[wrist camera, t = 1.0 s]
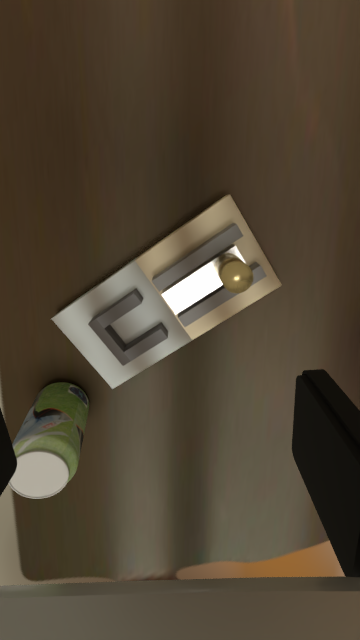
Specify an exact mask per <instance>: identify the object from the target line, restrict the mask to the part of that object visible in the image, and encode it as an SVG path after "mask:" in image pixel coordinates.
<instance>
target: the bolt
mask: <svg viewBox="0 0 360 640" xmlns="http://www.w3.org/2000/svg"><path fill="white" fill-rule="evenodd" d="M252 282H253V272H252V270H251V268H250V267H249V266H248V265H247V264H246V262H245V261H244V259H243V257H242V256H241V254H240V252H239V251H238V249H237V247H236V246H235V245H234V244H231V245H229V246H228V247H226V248H225V249H223V250H222V251H220V252H219V253H217V254H216V255H214V256H213V257H211V258H210V259H208V260H207V261H205V262H204V263H202V264H201V265H199V266H198V267H196V268H195V269H193V270H192V271H190V272H189V273H187V274H186V275H184V276H183V277H181V278H180V279H178V280H177V281H175V282H174V283H172V284H170V285H169V286H167V287H166V288H164V289H163V290H162V294H161V295H162V296H163V297H164V299H165V300H166V302H167V303H168V304H169V306H170V307H171V309H172V310H173V311H174V313H175V314H178V313H179V312H181V311H182V310H184V309H185V308H187V307H189V306H190V305H192V304H193V303H195V302H196V301H198V300H200V299H201V298H203V297H204V296H206V295H207V294H209V293H211V292H212V291H214V290H215V289H217V288H218V287H220V286H221V285H223V286H224V287H225V288H226V290H228V291H229V292H231V293H242V292H244V291H246V290H247V289H249V287H250V286H251V285H252Z"/></svg>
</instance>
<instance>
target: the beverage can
mask: <svg viewBox="0 0 360 640" xmlns="http://www.w3.org/2000/svg"><path fill="white" fill-rule="evenodd" d="M88 410H89V400H88V397H87V395H86V394H85V392H84V391H83V390H82V389H80V388H79V387H78V386H76V385H73V384H71V383H65V382H59V383H53V384H50V385H48V386H46V387H45V388H43V389H42V390H41V391H40V392H39V393H38V395H37V397H36V399H35V401H34V403H33V405H32V407H31V408H30V410H29V412H28V414H27V416H26V418H25V420H24V422H23V424H22V426H21V428H20V430H19V432H18V434H17V436H16V438H15V440H14V442H13V444H12V446H13V449H14V452H15V455H16V458H17V468H16V471H15V473H14V475H13V477H12V478H11V480H10V481H9V485H10V487H11V488H12V489H13V490H14V491H15V492H17V493H18V494H20V495H22V496H24V497H28V498H34V499H40V498H47V497H50V496H52V495H55V494H56V493H58V492H59V491H61V490H62V489H63V488H64V486H65V485H66V484H67V483H68V482H69V481H70V480H71V478H72V477H73V476H74V474H75V472H76V470H77V466H78V462H79V457H80V452H81V446H82V441H83V436H84V431H85V426H86V421H87V416H88Z"/></svg>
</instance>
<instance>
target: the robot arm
mask: <svg viewBox="0 0 360 640" xmlns="http://www.w3.org/2000/svg"><path fill="white" fill-rule="evenodd" d="M292 452H293V457H294V460H295V462H296V464H297V467H298V469H299V471H300V474H301V476H302V478H303V480H304V483H305V485H306V487H307V490H308V492H309V494H310V497H311V499H312V501H313V503H314V506H315V508H316V510H317V513H318V515H319V517H320V520H321V522H322V524H323V526H324V529H325V531H326V533H327V536H328V538H329V540H330V542H331V545H332V547H333V549H334V552H335V554H336V556H337V558H338V561H339V563H340V566H341V568H342V570H343V572H344V574H345V576H346V577H267V578H266V577H263V578H262V577H261V578H225V579H193V580H156V581H124V582H96V583H66V584H41V585H40V584H39V585H11V586H0V640H360V411H359V409H358V408H357V407H356V406H355V405H354V404H353V402H352V401H351V400H350V399H349V398H348V397H347V395H346V394H345V393H344V392H343V391H342V390H341V388H340V387H339V386H338V385H337V384H336V383H335V381H334V380H333V379H332V378H331V377H330V376H329V374H328V373H327V372H326V371H325V370H323V369H321V370H304V371H303V373H302V375H300V376H297V378H296V390H295V406H294V422H293V438H292ZM16 468H17V458H16V455H15V452H14V449H13V446H12V443H11V440H10V437H9V433H8V430H7V427H6V424H5V421H4V418H3V415H2V412H1V408H0V495H1V494H2V492H3V491H4V489H5V488H6V486H7V485H8V483H9V481H10V480H11V478H12V477H13V475H14V473H15V471H16Z"/></svg>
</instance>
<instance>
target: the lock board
mask: <svg viewBox="0 0 360 640" xmlns="http://www.w3.org/2000/svg"><path fill="white" fill-rule="evenodd" d="M231 244H234V245H235V246H236V247H237V249H238V251H239V252H240V254H241V256H242V257H243V259H244V261H245V262H246V264H247V265H248V266H249V267H250V268H251V270H252V272H253V282H252V285H251V286H250V287H249V289H247V290H246V291H244V292H242V293H231V292H229V291H228V290H226V288H225V287H224V286H223V285H221V286H220V287H218V288H217V289H215V290H214V291H212V292H211V293H209V294H207V295H206V296H204V297H203V298H201V299H200V300H198V301H196V302H195V303H193V304H192V305H190V306H189V307H187V308H185V309H184V310H182V311H181V312H179V313H178V314H175V313H174V311H173V310H172V309H171V307H170V306H169V304H168V303H167V302H166V300H165V299H164V297H163V296H162V295H161V294H162V290H163V289H164V288H166V287H167V286H169V285H170V284H172V283H174V282H175V281H177V280H178V279H180V278H181V277H183V276H184V275H186V274H187V273H189V272H190V271H192V270H193V269H195V268H196V267H198V266H199V265H201V264H202V263H204V262H205V261H207V260H208V259H210V258H211V257H213V256H214V255H216V254H217V253H219V252H220V251H222V250H223V249H225V248H226V247H228V246H229V245H231ZM280 286H281V283H280V281H279V280H278V278H277V276H276V274H275V273H274V271H273V269H272V267H271V266H270V264H269V262H268V260H267V258H266V257H265V255H264V253H263V251H262V250H261V248H260V246H259V244H258V243H257V241H256V239H255V237H254V236H253V234H252V232H251V230H250V229H249V227H248V225H247V223H246V222H245V220H244V218H243V216H242V215H241V213H240V211H239V209H238V208H237V206H236V204H235V202H234V201H233V199H232V197H231V195H230V194H228V195H225V196H224V197H223V198H221V199H220V200H218V201H217V202H215V203H214V204H213V205H211V206H210V207H208V208H207V209H205V210H204V211H202V212H201V213H200V214H198V215H197V216H195V217H194V218H192V219H191V220H190V221H188V222H187V223H185V224H184V225H182V226H181V227H180V228H178V229H177V230H175V231H174V232H172V233H171V234H170V235H168V236H167V237H165V238H164V239H162V240H161V241H160V242H158V243H157V244H155V245H154V246H152V247H151V248H150V249H148V250H147V251H145V252H144V253H142V254H141V255H139V256H138V257H137V258H135V259H134V260H132V261H131V262H129V263H128V264H127V265H125V266H124V267H122V268H121V269H119V270H118V271H117V272H115V273H114V274H112V275H111V276H109V277H108V278H107V279H105V280H104V281H102V282H101V283H99V284H98V285H97V286H95V287H94V288H92V289H91V290H89V291H88V292H87V293H85V294H84V295H82V296H81V297H79V298H78V299H77V300H75V301H74V302H72V303H71V304H69V305H68V306H66V307H65V308H64V309H62V310H61V311H59V312H58V313H57V314H56V315H55V316H54V317H53V318H52V320H53V321H54V322H55V324H56V325H57V326H58V327H59V328H60V329H61V330H62V332H63V333H64V334H65V335H66V336H67V337H68V338H69V340H70V341H71V342H72V343H73V344H74V345H75V346H76V348H77V349H78V350H79V351H80V352H81V353H82V354H83V356H84V357H85V358H86V359H87V360H88V361H89V362H90V364H91V365H92V366H93V367H94V368H95V369H96V370H97V372H98V373H99V374H100V375H101V376H102V377H103V378H104V380H105V381H106V382H107V383H108V384H109V385H110V386H111V388H112V389H113V388H115V387H117V386H118V385H120V384H122V383H123V382H125V381H126V380H128V379H130V378H131V377H133V376H135V375H136V374H138V373H140V372H141V371H143V370H144V369H146V368H148V367H149V366H151V365H153V364H154V363H156V362H157V361H159V360H161V359H162V358H164V357H166V356H167V355H169V354H170V353H172V352H174V351H175V350H177V349H179V348H180V347H182V346H184V345H185V344H187V343H188V342H190V341H192V340H193V339H195V338H197V337H198V336H200V335H201V334H203V333H205V332H206V331H208V330H210V329H211V328H213V327H215V326H216V325H218V324H219V323H221V322H223V321H224V320H226V319H228V318H229V317H231V316H232V315H234V314H236V313H237V312H239V311H241V310H242V309H244V308H245V307H247V306H249V305H250V304H252V303H254V302H255V301H257V300H259V299H260V298H262V297H263V296H265V295H267V294H268V293H270V292H272V291H273V290H275V289H276V288H278V287H280Z"/></svg>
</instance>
